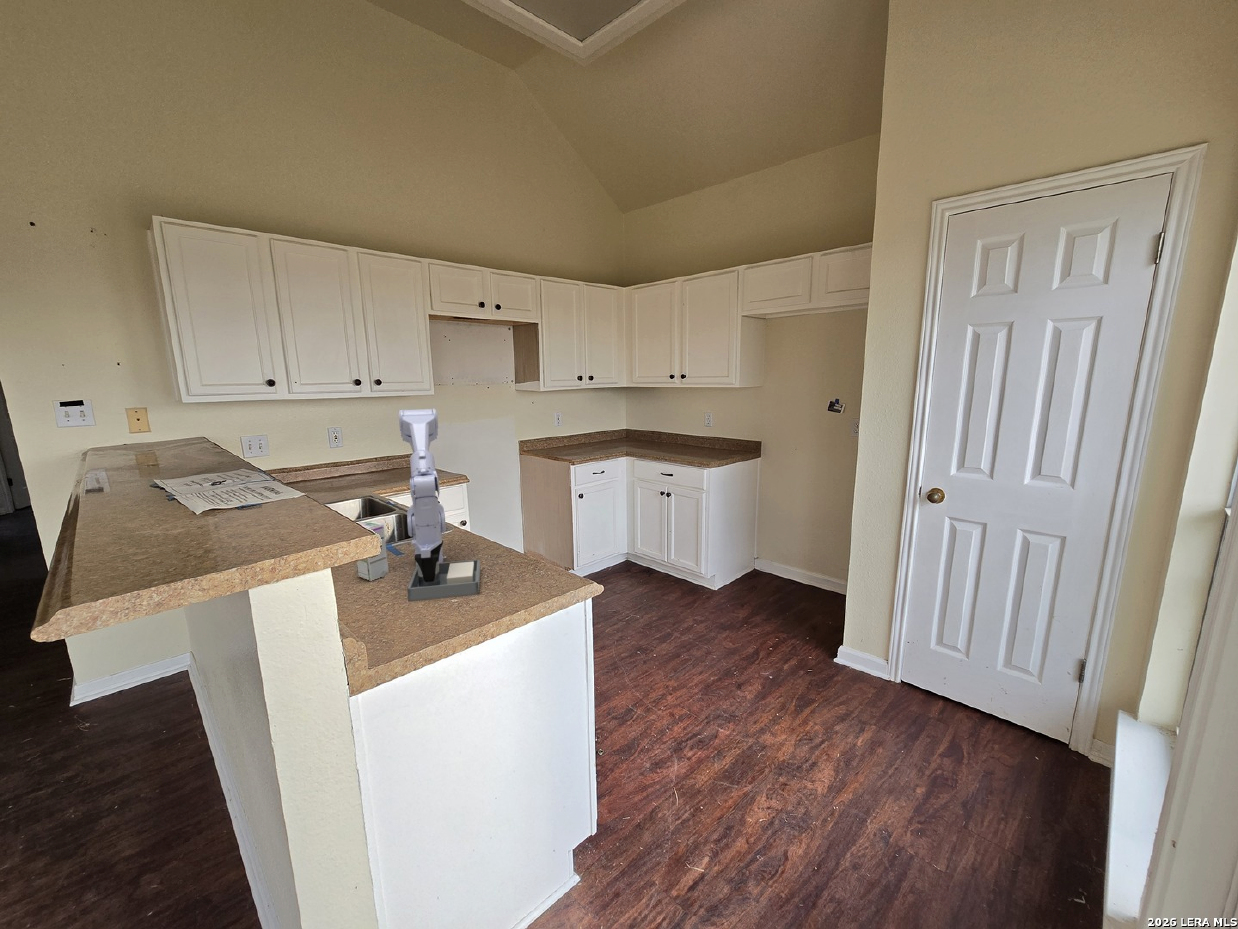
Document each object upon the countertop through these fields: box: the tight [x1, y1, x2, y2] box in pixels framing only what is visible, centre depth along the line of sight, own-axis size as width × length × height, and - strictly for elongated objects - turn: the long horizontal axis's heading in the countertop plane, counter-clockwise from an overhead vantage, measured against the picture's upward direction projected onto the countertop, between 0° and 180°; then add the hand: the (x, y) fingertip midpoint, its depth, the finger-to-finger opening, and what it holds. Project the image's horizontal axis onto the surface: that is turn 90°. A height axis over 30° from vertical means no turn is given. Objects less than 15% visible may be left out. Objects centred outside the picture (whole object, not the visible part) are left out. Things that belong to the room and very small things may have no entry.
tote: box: [406, 558, 481, 602], centre depth 132 cm, size 16×16×4 cm
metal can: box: [417, 561, 440, 587], centre depth 130 cm, size 5×5×6 cm
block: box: [447, 562, 475, 584], centre depth 132 cm, size 10×6×4 cm, turn 13°
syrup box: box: [355, 520, 389, 582], centre depth 139 cm, size 6×6×14 cm
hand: (431, 575), depth 131 cm, fingers open, 7 cm apart
